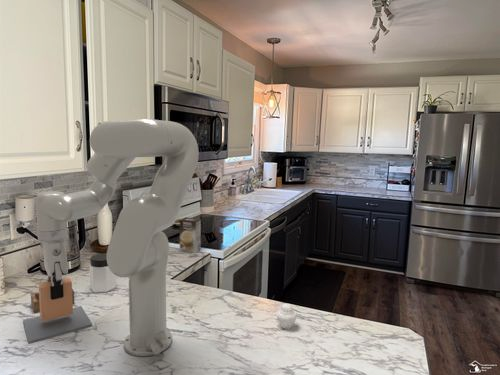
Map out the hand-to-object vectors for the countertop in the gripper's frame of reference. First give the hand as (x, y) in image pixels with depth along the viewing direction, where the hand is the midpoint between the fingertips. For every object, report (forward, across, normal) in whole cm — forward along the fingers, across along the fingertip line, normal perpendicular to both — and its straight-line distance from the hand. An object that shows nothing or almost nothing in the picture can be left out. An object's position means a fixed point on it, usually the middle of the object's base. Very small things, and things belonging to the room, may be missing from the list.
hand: (55, 294), depth 103 cm
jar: (+9, +19, -18) cm, 28 cm away
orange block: (+6, 0, 0) cm, 6 cm away
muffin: (+9, -40, -55) cm, 69 cm away
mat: (+9, 0, 0) cm, 9 cm away
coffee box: (+9, +42, -66) cm, 79 cm away
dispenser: (+9, +15, -1) cm, 18 cm away
